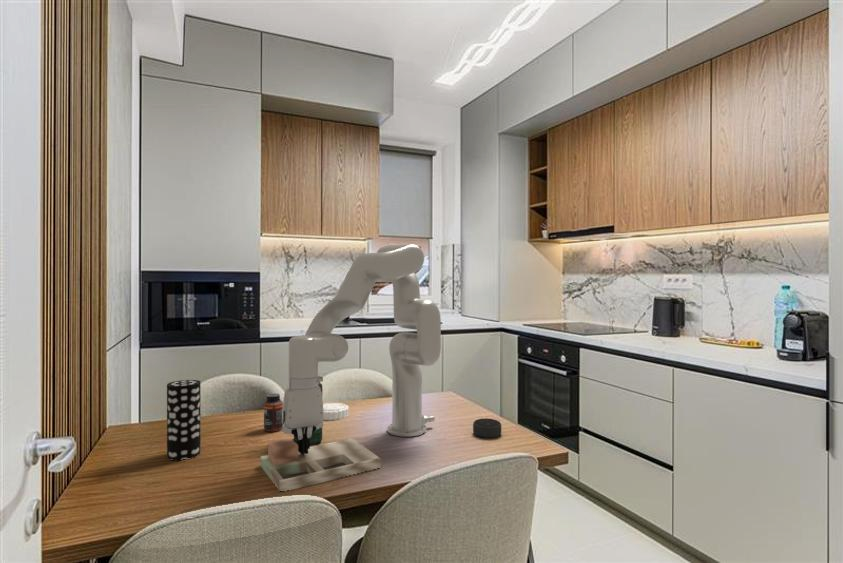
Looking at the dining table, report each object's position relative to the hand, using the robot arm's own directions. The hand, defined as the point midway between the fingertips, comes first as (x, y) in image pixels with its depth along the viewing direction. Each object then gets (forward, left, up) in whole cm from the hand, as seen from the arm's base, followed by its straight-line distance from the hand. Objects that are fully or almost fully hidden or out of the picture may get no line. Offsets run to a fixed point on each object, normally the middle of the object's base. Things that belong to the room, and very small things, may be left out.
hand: (303, 452), depth 125 cm
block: (+5, 0, -1) cm, 5 cm away
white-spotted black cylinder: (+26, -24, -3) cm, 35 cm away
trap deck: (-3, +4, -3) cm, 6 cm away
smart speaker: (-57, +7, -4) cm, 58 cm away
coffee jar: (-7, -17, -4) cm, 19 cm away
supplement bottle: (-1, -33, -3) cm, 33 cm away
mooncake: (-23, -38, -4) cm, 45 cm away
